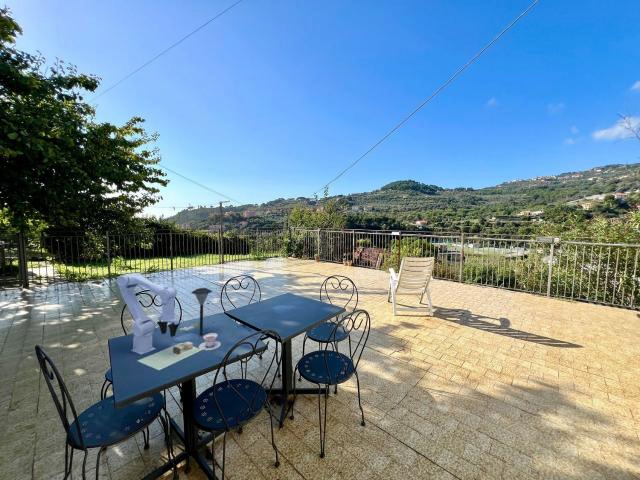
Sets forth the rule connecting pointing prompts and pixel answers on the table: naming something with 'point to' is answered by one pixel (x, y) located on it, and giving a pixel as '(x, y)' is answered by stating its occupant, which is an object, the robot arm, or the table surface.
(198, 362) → the table surface
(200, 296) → the solar garden light
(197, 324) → the smartphone
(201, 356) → the table surface
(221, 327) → the table surface
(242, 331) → the table surface
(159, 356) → the mat
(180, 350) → the brown-topped white block
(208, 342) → the teacup
